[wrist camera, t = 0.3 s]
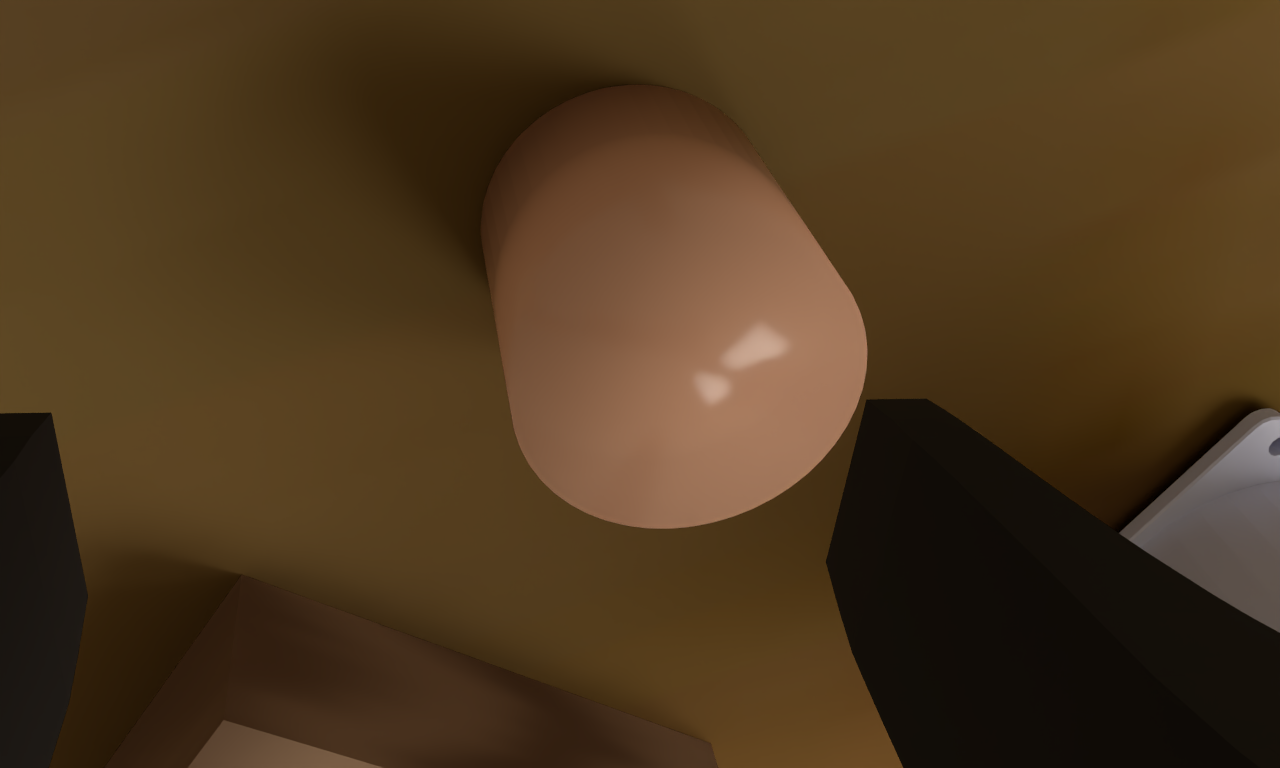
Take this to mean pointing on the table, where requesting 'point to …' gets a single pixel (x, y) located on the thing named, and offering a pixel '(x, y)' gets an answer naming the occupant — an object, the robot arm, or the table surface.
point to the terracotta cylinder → (663, 312)
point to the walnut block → (370, 702)
